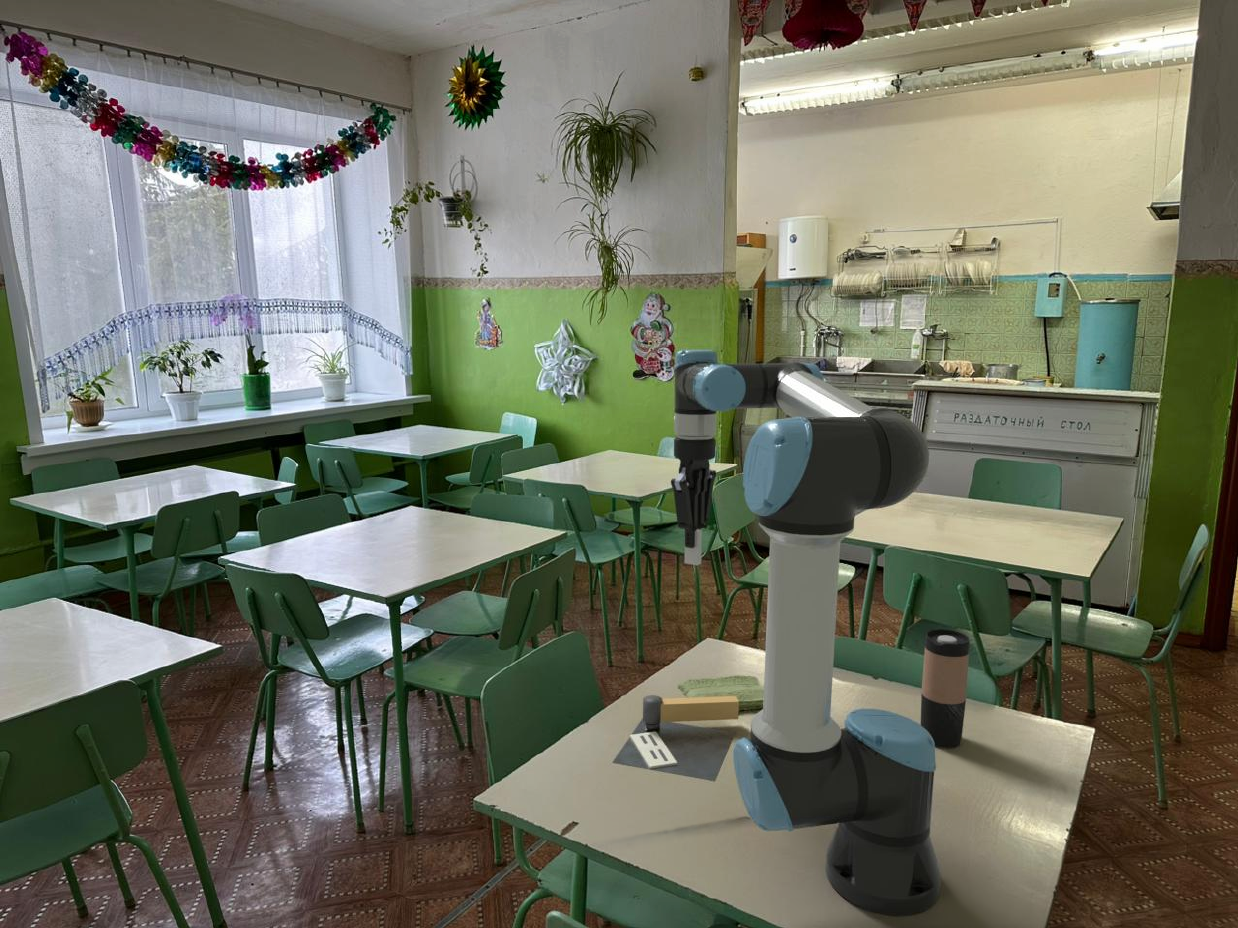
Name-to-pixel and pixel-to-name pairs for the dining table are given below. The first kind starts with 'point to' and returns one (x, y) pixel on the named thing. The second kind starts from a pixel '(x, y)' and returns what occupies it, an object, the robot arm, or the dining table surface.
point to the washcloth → (727, 689)
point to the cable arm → (689, 709)
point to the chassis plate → (683, 749)
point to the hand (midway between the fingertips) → (692, 563)
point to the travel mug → (944, 686)
